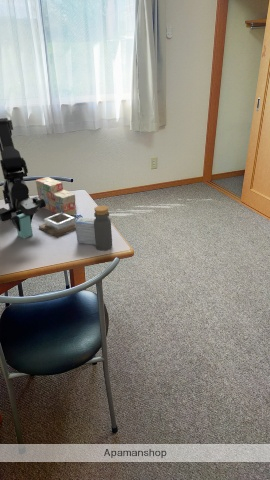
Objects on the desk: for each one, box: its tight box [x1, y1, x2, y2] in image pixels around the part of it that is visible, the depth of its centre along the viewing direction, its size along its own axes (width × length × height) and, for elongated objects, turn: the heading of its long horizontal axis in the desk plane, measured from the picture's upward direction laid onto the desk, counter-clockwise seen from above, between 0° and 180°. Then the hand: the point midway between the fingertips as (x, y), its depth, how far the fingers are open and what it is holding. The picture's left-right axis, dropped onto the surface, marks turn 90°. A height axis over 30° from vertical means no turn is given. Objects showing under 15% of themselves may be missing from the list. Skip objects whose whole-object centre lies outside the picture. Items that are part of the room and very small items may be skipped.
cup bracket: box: [43, 212, 76, 232], centre depth 141 cm, size 8×8×3 cm
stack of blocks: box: [35, 176, 77, 216], centre depth 155 cm, size 21×6×12 cm, turn 43°
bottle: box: [93, 205, 113, 252], centre depth 123 cm, size 6×6×15 cm
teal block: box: [16, 213, 34, 239], centre depth 134 cm, size 4×4×8 cm
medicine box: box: [75, 217, 96, 246], centre depth 129 cm, size 8×4×9 cm, turn 76°
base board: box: [38, 220, 76, 238], centre depth 141 cm, size 12×12×1 cm
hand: (24, 229), depth 135 cm, fingers closed on teal block, 4 cm apart
